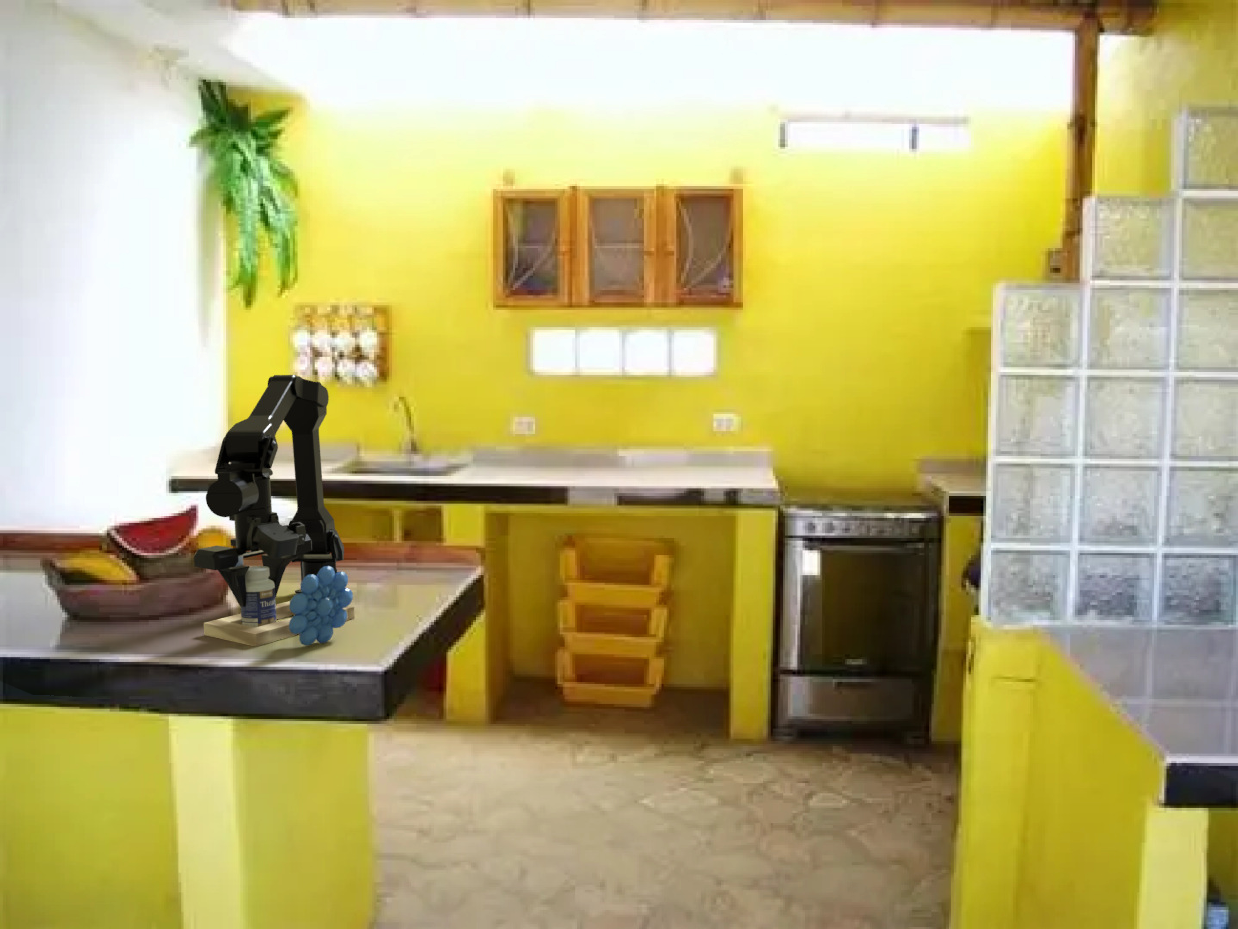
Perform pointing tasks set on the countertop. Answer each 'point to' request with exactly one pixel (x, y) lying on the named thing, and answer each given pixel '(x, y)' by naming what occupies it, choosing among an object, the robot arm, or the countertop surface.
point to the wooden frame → (260, 635)
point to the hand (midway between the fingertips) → (257, 602)
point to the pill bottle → (259, 598)
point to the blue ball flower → (320, 606)
